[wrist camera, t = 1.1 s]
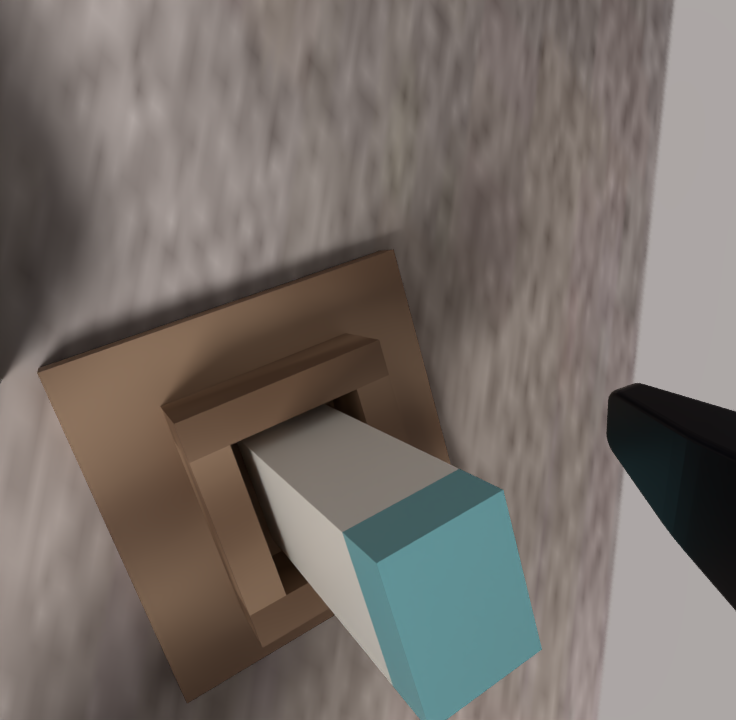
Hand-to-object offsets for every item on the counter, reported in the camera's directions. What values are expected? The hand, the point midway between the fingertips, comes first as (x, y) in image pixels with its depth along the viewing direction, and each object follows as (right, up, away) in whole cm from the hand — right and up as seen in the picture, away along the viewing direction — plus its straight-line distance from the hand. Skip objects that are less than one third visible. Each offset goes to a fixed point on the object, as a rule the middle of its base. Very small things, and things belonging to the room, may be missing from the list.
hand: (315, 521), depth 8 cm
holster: (-2, -1, +14) cm, 14 cm away
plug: (-2, -2, +13) cm, 13 cm away
